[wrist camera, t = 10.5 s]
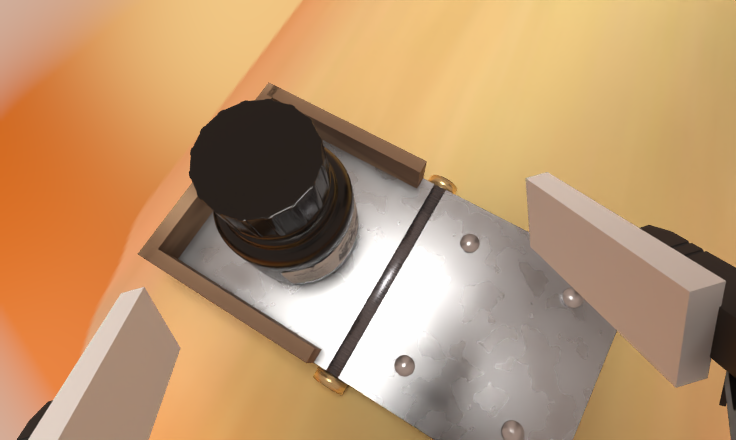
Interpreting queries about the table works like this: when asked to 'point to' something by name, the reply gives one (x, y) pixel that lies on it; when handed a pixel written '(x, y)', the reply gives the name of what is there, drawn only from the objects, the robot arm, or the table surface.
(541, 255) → the robot arm
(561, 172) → the table surface
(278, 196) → the ink bottle
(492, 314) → the hinge
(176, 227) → the holder
